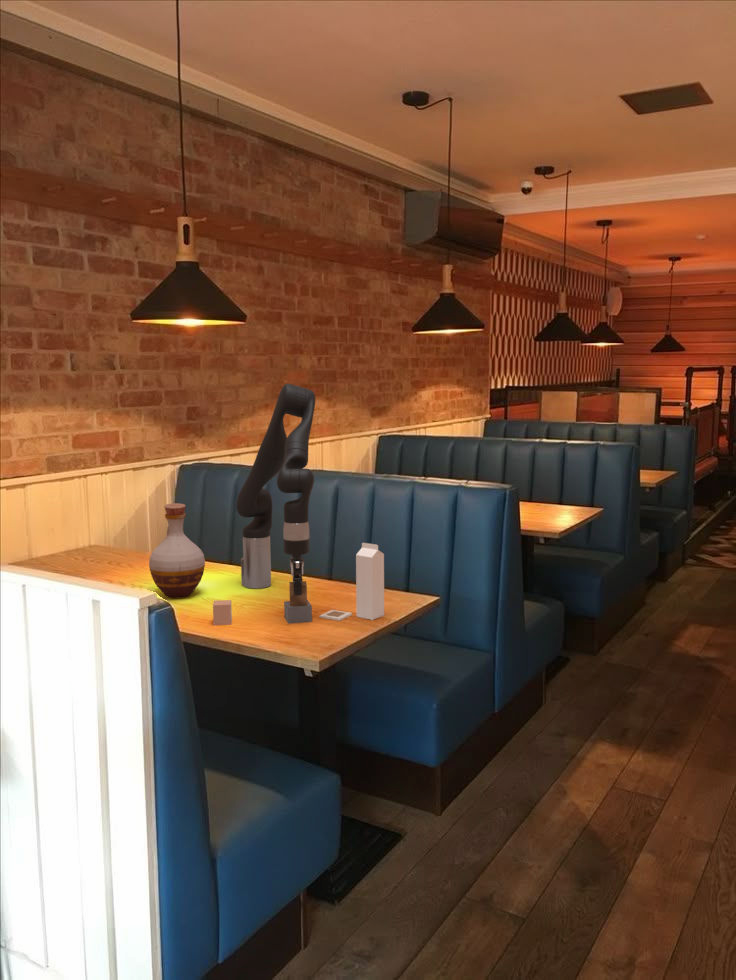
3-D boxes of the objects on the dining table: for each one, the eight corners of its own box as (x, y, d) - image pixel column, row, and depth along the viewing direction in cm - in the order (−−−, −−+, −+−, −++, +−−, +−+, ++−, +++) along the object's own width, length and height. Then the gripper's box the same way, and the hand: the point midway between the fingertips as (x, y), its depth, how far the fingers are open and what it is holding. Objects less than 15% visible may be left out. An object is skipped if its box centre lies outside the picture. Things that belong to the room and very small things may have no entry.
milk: (368, 612, 252) (368, 540, 249) (384, 615, 248) (384, 543, 246) (356, 616, 247) (355, 544, 244) (372, 620, 244) (371, 546, 241)
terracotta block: (213, 625, 240) (212, 605, 239) (214, 620, 245) (214, 600, 244) (231, 624, 240) (230, 604, 240) (231, 619, 245) (231, 600, 245)
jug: (143, 591, 279) (139, 502, 274) (196, 584, 287) (193, 498, 283) (157, 605, 261) (153, 510, 257) (212, 597, 269) (209, 506, 265)
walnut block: (289, 606, 242) (289, 586, 241) (289, 601, 247) (289, 581, 246) (307, 605, 242) (306, 585, 242) (306, 600, 247) (306, 581, 246)
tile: (319, 617, 247) (319, 614, 247) (332, 611, 253) (332, 609, 253) (339, 620, 243) (339, 618, 243) (351, 614, 249) (351, 612, 249)
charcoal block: (288, 624, 241) (287, 607, 240) (284, 617, 248) (284, 601, 247) (312, 622, 243) (311, 605, 242) (307, 615, 249) (307, 599, 249)
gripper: (310, 541, 235) (311, 597, 237) (308, 531, 249) (308, 584, 251) (283, 542, 234) (284, 598, 237) (283, 532, 248) (283, 585, 251)
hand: (297, 591), depth 244 cm, fingers open, 8 cm apart
